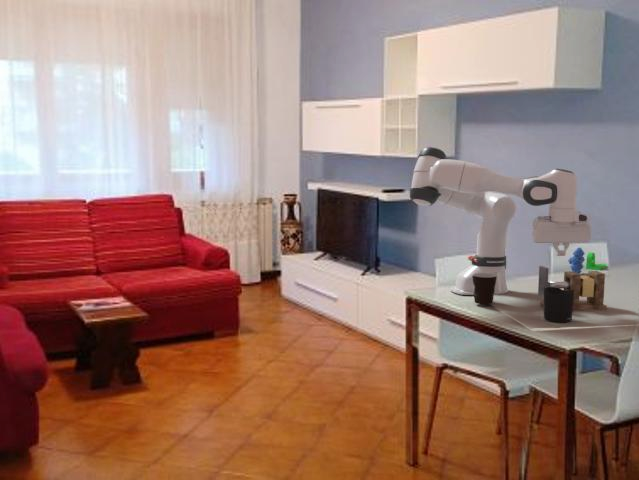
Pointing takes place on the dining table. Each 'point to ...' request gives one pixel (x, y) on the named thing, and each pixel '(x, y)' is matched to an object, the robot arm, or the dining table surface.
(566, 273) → the bearing block
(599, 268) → the mechanical part
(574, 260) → the grapes
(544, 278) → the shaft
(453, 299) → the dining table surface
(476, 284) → the coffee mug
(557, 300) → the pen holder
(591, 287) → the spacer
